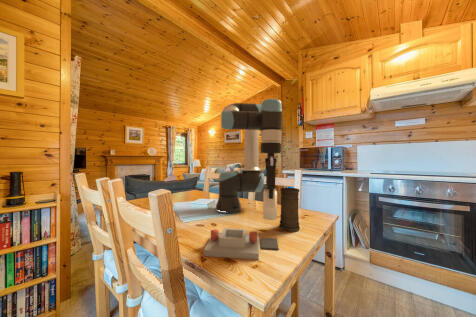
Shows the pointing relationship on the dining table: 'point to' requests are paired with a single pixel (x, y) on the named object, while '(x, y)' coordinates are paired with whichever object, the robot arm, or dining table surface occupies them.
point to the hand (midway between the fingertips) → (270, 205)
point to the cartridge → (267, 211)
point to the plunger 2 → (253, 237)
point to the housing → (233, 245)
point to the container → (289, 210)
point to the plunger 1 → (214, 234)
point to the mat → (269, 243)
